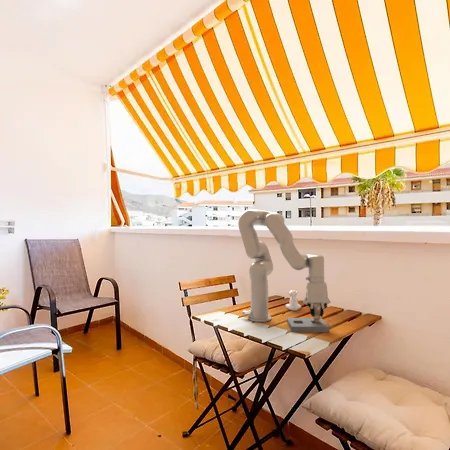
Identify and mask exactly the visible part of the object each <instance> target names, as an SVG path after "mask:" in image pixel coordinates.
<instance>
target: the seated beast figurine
mask: <svg viewBox="0 0 450 450" xmlns="http://www.w3.org/2000/svg"><path fill="white" fill-rule="evenodd" d="M298 293H299V292H298V291H297V290H295V289H291V290H290V291H288V292H287V294H288V295H289V297H290V298H289V303H286V304H285V309H287V310H290V311H293V312H294V311H295V312H297V311H298V310H300V309H301V308H302V305H301V304H299V301H298V298H297V295H298Z"/></svg>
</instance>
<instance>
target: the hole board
mask: <svg viewBox="0 0 450 450" xmlns="http://www.w3.org/2000/svg"><path fill="white" fill-rule="evenodd" d="M286 323H287V325H288V327H289V329H290V331H291V332H292V333H299V332H300V333H330V326H329V325H328V323H327V322H326V321H325V320H324V319H323V318H322V317H320V324H314V317H287V318H286Z"/></svg>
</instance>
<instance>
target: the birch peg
mask: <svg viewBox="0 0 450 450" xmlns="http://www.w3.org/2000/svg"><path fill="white" fill-rule="evenodd" d="M313 309H314V317H313V318H314V324H320V318H321V316H320V314H321V303H314V304H313Z"/></svg>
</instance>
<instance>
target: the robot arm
mask: <svg viewBox="0 0 450 450" xmlns="http://www.w3.org/2000/svg"><path fill="white" fill-rule="evenodd" d="M254 225H255V226H256V225H259V226H264V227H266V228H267V229H268V231H269V232H270V234H272V236H273V237H274V239H275V240H276V243H277V244H278V247H279V249H280V251H281V253H282V255H283V257H284V259H285V260H286V261H287V263H288V264H289V265H290V268H292V269H293V270H296V271H302V270H304V269H307V268H308V276H307V277H305V280H306V281H307V284H306V289H305V291H306V292H305V297H304V299H303V301H302V302H303V304H305V305H306V306H307V307H309V314H310V315H311V318H314V309H313V304H314V303H321V314H320V318H322V317H323V315H324V313H325V312H324V310H325V307H327V305H329V304H331V300H330V299H329V293H328V287H327V286H328V285H327V282H325V257H324V256H323V255H321V254H309V253H308V254H307V253H300V252H299V250H298V249H297V247H296V246H295V243H294V239H293V234H292V232H291V231H290V230H289V228H288V227H287V225H286V224H285V218H284V216H283V215H282V214H281V213H279V212H273V211H267V210H263V209H262V210H261V209H253V208H252V209H251V208H249V209H246V210H245V211H243V213H242V214H240V216H239V219H238V229H239V233H240V237H241V239H242V243H243V246H244V250H245V254H246V257H248V258H249V259H251V260H254V262H252V264H251V265H250V266H249V269H248V272H249V273H248V274H249V280H250V309H249V310H242V315H244V316H247V319H248V320H250V321H251V322H255V323H265V322H269V321H271V320H272V316H271V315H270V314H269V282H268V281H269V280H268V276H270V275H271V274H272V273H273V271H274V263H273V260H272V257H271V253H270V251H269V248H268V247H269V246H268V245H267V244H266V243H265V242H263V241H261V240H259V238H258V233H257V231H256V229H255V227H254Z"/></svg>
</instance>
